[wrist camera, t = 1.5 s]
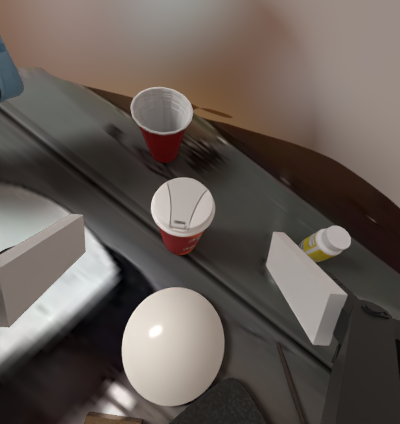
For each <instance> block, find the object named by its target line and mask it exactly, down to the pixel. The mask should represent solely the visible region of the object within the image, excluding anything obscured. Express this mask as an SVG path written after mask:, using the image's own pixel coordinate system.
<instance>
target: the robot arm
mask: <svg viewBox="0 0 400 424" xmlns="http://www.w3.org/2000/svg"><path fill="white" fill-rule="evenodd" d="M23 90H24V84H23V82H22V79H21V77H20V75H19V73H18V71H17V69H16V67H15V65H14V63H13V60H12V58H11V56H10V54H9V53H8V51H7V49H6V47H5V44H4V43H3V41H2V39H1V36H0V102H4V101H5V100H6V99H9V98H13V97H16V96H19V95H20V94H21V93H22V92H23ZM84 253H85V235H84V218H83V215H78V214H71V215H69V216H67V217H65V218H64V219H62V220H60V221H58V222H57V223H55V224H53V225H51V226H49V227H48V228H46V229H44V230H42V231H41V232H39V233H37V234H35V235H34V236H32V237H30V238H28V239H27V240H25V241H23V242H21V243H20V244H18V245H16V246H13V247H10V248H7V249H5V250H3V251H1V252H0V327H10V326H11V325H12V324H13V323H14V322H15V321H16V320H17V319H18V318H19V317H20V316H21V315H22V314H23V313H24V312H25V311H26V310H27V309H28V308H29V307H30V306H31V305H32V304H33V303H34V302H35V301H36V300H37V299H38V298H39V297H40V296H41V295H42V294H43V293H44V292H45V291H46V290H47V289H48V288H49V287H50V286H51V285H52V284H53V283H54V282H55V281H56V280H57V279H58V278H59V277H60V276H61V275H62V274H63V273H64V272H65V271H66V270H67V269H68V268H69V267H70V266H71V265H73V264H74V263H75V262H76V261H77V260H78V259H79V258H80V257H81V256H82V255H83V254H84ZM266 267H267V268H268V270H269V272H270V273H271V275H272V277H273V279H274V280H275V282H276V284H277V285H278V287H279V289H280V290H281V292H282V294H283V295H284V297H285V299H286V300H287V302H288V304H289V305H290V307H291V309H292V310H293V312H294V314H295V316H296V317H297V319H298V321H299V322H300V324H301V326H302V327H303V329H304V331H305V332H306V334H307V336H308V337H309V339H310V341H311V342H312V344H313V345H326V346H329V345H330V342H331V339H332V337H333V335H334V337H335V338H336V339H337V341H338V342H339V343H338V346H337V349H336V351H335V354H334V357H333V359H332V363H333V367H332V372H331V377H330V382H329V386H328V391H327V396H326V401H325V405H324V410H323V415H322V420H321V424H400V321H399V320H395V319H392V317H391V315H390V314H389V313H388V312H387V311H386V310H384V309H383V308H381V307H380V306H378V305H376V304H374V303H371V302H368V301H364V300H359V299H358V298H357V297H356V296H355V295H354V294H353V293H352V292H351V291H349V290H348V289H347V288H346V287H345V286H343V284H342V283H341V282H340V281H338V279H337V278H336V277H335V276H333V275H332V274H331V273H330V272H328V271H326V270H325V269H323V268H320V267H319V266H318V265H317V264H316V263H315V262H314V261H313V260H312V259H311V258H310V257H309V256H307V255H306V254H305V253H304V252H303V251H302V250H301V249H300V248H299V247H298V246H297V245H296V244H295V243H294V242H293V241H292V240H291V239H290V238H289V237H288V236H287V235H286V234H285V233H283V232H273V236H272V241H271V245H270V250H269V254H268V259H267V263H266Z"/></svg>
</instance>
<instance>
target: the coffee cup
mask: <svg viewBox="0 0 400 424" xmlns="http://www.w3.org/2000/svg"><path fill="white" fill-rule="evenodd" d="M151 212H152V216H153V219H154V220H155V222H156V224H157V225H158V226H159V229H160V232H161V235H162V238H163V241H164V244H165V246H166V248H167V249H168V250H169V251H170V252H171V253H173V254H176V255H185V254H188V253H189V252H191V251H192V250H193V249H194V247H195V246H196V244H197V242H198V241H199V239H200V237H201V235H202V233H203V231H204V230H205V229H206V228H207V227H208V226H209V225H210V223H211V222H212V220H213V218H214V214H215V203H214V200H213V197H212V195H211V193H210V191H209V190H208V189H207V188H206V187H205V186H204V185H203V184H201V183H200V182H198V181H197V180H194V179H192V178H185V177H183V178H175V179H172V180H170V181H167V182H165V183H164V184H163V185H162V186H161V187H160V188H159V189H158V190H157V191H156V193H155V195H154V196H153V199H152V203H151Z"/></svg>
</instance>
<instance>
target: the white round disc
mask: <svg viewBox="0 0 400 424" xmlns="http://www.w3.org/2000/svg"><path fill="white" fill-rule="evenodd" d="M223 354H224V332H223V327H222V324H221V320H220V318H219V316H218V314H217V312H216V310H215V309H214V307H213V306H212V305H211V303H210V302H209V301H208V300H207V299H206V298H204V297H203V296H202V295H200V294H199V293H197V292H195V291H192V290H190V289H186V288H179V287H174V288H167V289H163V290H160V291H158V292H155V293H153V294H152V295H150V296H149V297H147V298H146V299H145V300H144V301H142V303H141V304H140V305H139V306H138V307H137V308H136V309H135V311H134V312H133V314H132V315H131V317H130V319H129V321H128V323H127V326H126V329H125V332H124V336H123V341H122V359H123V365H124V369H125V372H126V375H127V377H128V379H129V381H130V383H131V384H132V386H133V387H134V388H135V390H136V391H137V392H138V393H139V394H140V395H141V396H143V397H144V398H145V399H147V400H149V401H150V402H153V403H155V404H158V405H163V406H177V405H182V404H185V403H188V402H190V401H192V400H194V399H195V398H197V397H198V396H200V395H201V394H202V393H203V392H204V391H205V390H206V389H207V388H208V387H209V386H210V385H211V383H212V382H213V380H214V379H215V377H216V375H217V373H218V371H219V369H220V366H221V363H222V359H223Z"/></svg>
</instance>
